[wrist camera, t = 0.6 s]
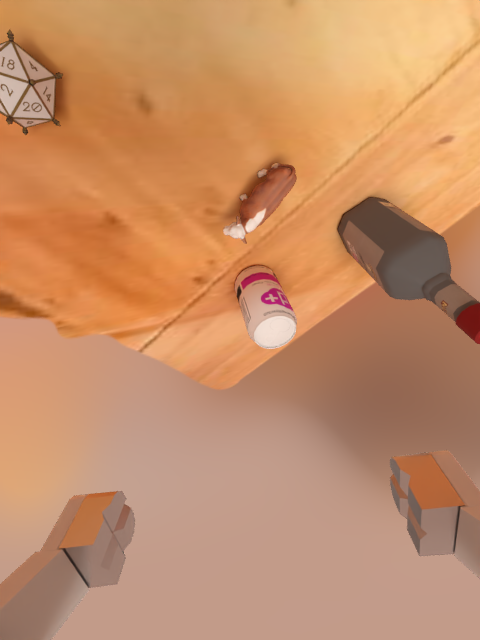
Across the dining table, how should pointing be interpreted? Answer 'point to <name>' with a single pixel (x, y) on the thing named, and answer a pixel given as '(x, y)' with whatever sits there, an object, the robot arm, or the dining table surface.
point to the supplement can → (265, 307)
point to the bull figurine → (262, 200)
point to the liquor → (407, 260)
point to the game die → (25, 87)
